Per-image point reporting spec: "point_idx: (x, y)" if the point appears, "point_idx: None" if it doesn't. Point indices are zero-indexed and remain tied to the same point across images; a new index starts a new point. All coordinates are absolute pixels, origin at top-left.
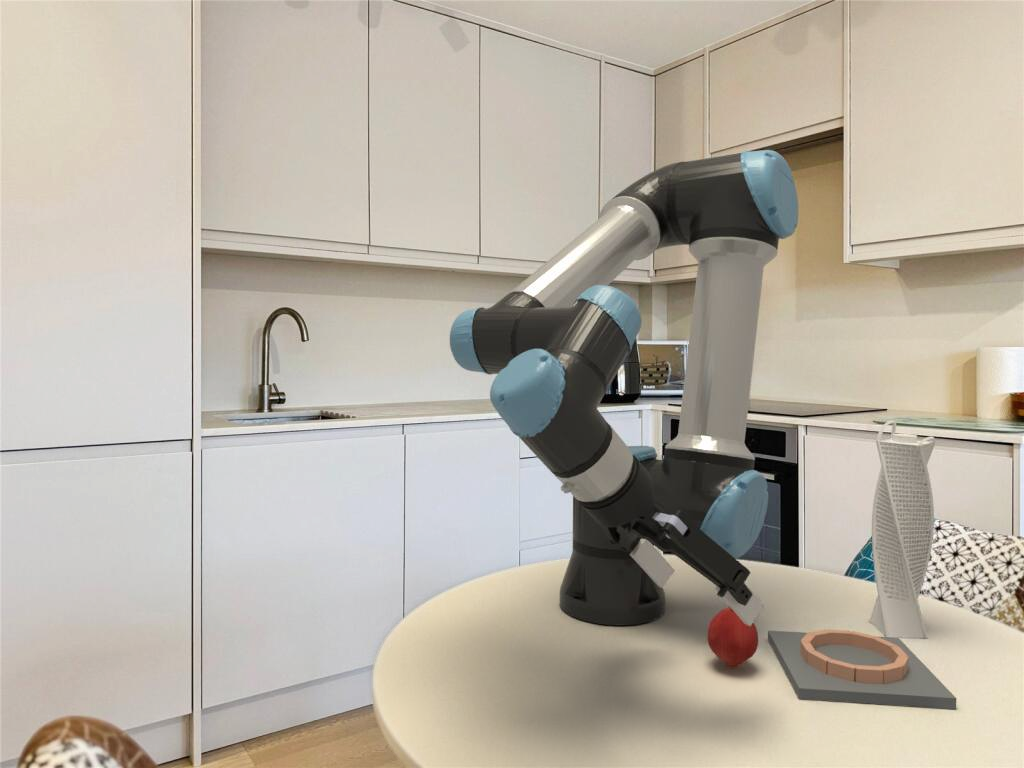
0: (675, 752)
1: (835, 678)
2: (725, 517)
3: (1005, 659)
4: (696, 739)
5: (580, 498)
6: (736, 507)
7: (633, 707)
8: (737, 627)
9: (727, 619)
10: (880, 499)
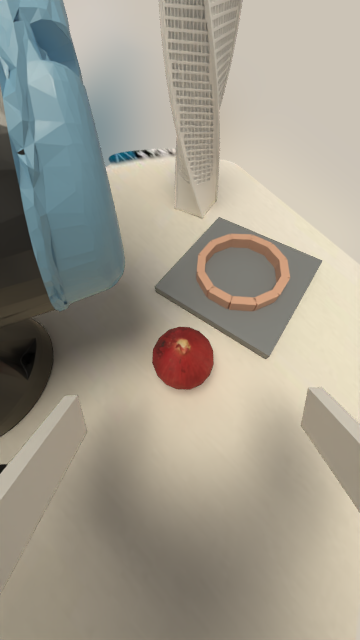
0: (338, 621)
1: (262, 310)
2: (98, 232)
3: (261, 190)
4: (313, 553)
5: None
6: (105, 177)
7: (213, 578)
8: (204, 364)
9: (190, 367)
10: (175, 35)
